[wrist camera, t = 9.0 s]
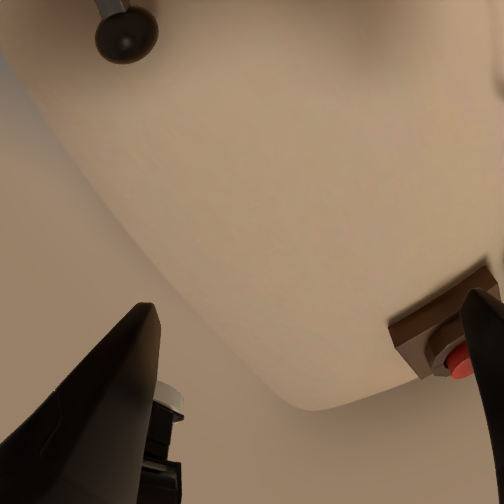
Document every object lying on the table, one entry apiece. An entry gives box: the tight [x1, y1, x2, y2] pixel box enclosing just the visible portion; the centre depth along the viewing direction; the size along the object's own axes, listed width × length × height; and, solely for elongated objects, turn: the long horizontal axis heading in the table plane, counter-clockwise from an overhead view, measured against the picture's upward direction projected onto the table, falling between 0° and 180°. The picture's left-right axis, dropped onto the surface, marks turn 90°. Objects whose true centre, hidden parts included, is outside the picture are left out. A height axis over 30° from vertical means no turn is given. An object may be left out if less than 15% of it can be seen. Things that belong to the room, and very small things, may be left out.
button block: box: [388, 266, 501, 379], centre depth 23 cm, size 10×8×4 cm
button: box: [445, 341, 474, 379], centre depth 21 cm, size 4×4×2 cm
